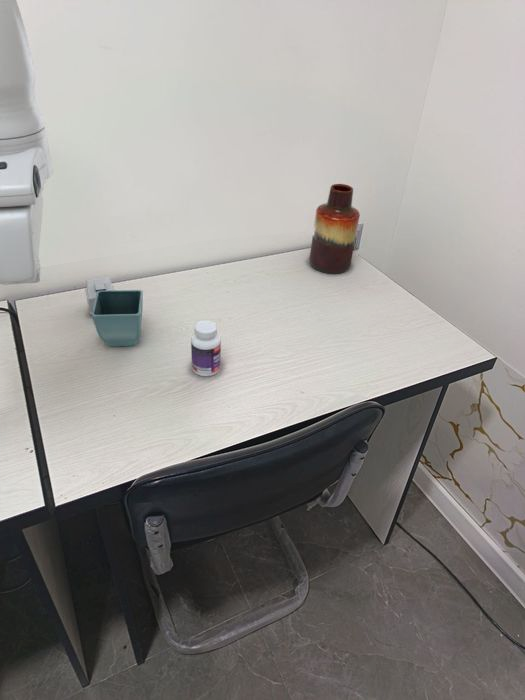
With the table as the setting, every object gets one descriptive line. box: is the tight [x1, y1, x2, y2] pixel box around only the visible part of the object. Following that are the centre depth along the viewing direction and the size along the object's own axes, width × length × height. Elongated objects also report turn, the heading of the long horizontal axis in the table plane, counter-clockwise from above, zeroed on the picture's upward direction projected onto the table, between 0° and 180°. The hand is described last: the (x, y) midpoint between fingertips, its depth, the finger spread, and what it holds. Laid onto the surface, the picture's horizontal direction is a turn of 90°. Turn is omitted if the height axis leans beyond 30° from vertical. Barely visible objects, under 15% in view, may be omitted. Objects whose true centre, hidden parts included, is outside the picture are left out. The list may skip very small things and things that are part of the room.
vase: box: [308, 183, 361, 275], centre depth 124 cm, size 11×11×20 cm
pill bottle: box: [190, 319, 222, 377], centre depth 91 cm, size 5×5×10 cm
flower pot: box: [91, 289, 144, 347], centre depth 97 cm, size 9×9×9 cm
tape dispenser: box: [84, 276, 115, 316], centre depth 104 cm, size 6×7×10 cm
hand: (32, 276), depth 58 cm, fingers closed
